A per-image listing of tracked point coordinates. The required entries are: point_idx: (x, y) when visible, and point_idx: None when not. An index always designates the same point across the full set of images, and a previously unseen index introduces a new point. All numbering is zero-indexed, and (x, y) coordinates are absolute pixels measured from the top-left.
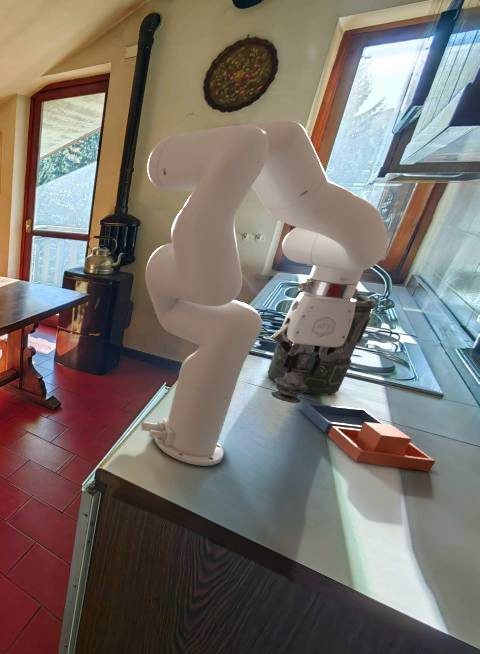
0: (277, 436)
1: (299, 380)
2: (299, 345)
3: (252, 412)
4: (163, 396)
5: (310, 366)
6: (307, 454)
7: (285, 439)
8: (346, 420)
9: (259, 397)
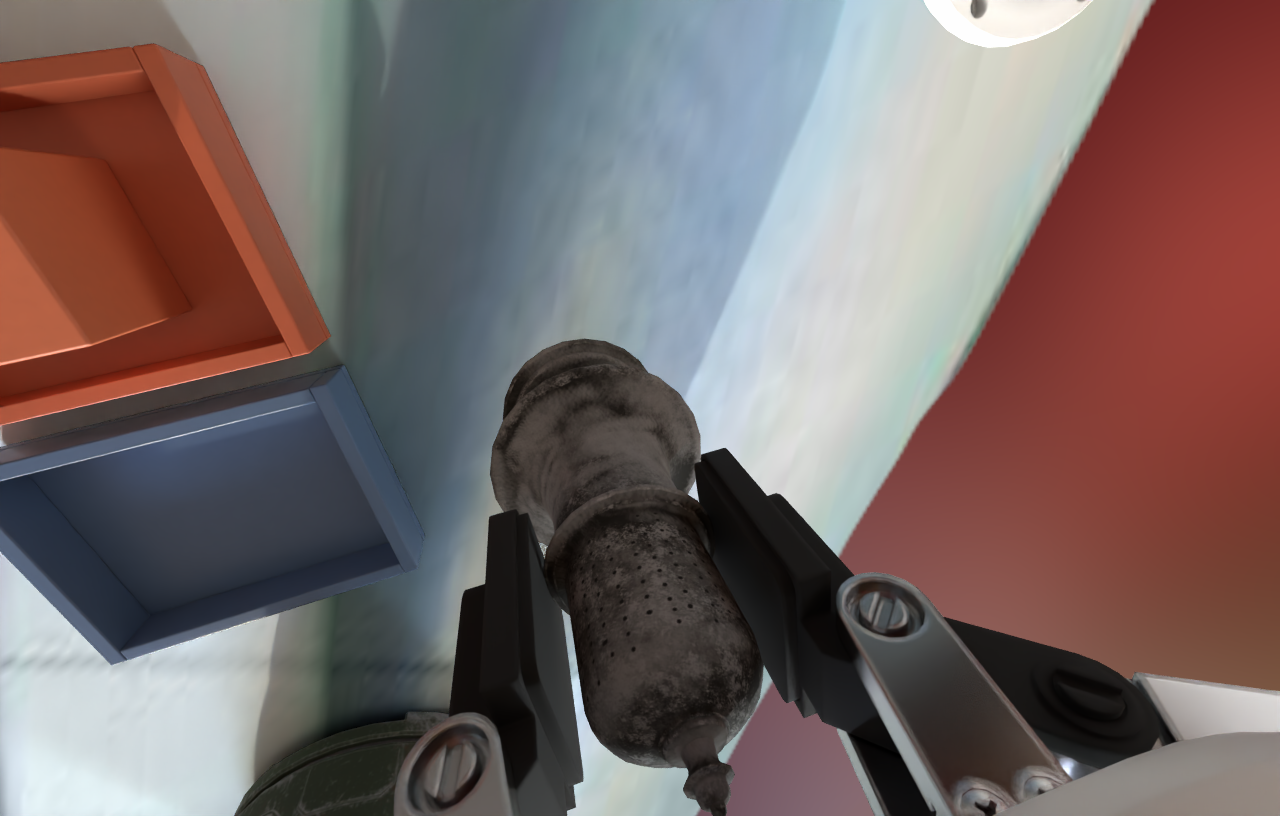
0: (582, 200)
1: (582, 450)
2: (944, 774)
3: None
4: (959, 366)
5: (541, 592)
6: (466, 43)
7: (549, 183)
8: (220, 543)
9: None
